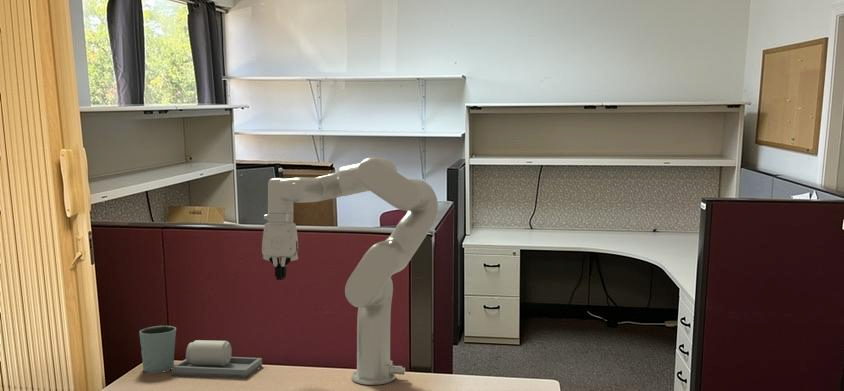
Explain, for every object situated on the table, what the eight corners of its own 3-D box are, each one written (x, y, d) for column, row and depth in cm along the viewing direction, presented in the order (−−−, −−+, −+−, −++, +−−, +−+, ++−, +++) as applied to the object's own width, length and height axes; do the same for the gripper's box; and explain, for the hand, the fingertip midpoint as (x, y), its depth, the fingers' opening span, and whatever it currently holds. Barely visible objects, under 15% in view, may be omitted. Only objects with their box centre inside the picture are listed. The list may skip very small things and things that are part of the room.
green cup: (182, 365, 191) (182, 326, 191) (165, 374, 181) (165, 333, 181) (150, 363, 192) (150, 325, 192) (132, 373, 182) (132, 332, 182)
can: (226, 338, 185) (187, 337, 186) (222, 363, 182) (182, 362, 182) (234, 343, 192) (196, 343, 192) (230, 368, 189) (191, 367, 189)
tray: (262, 366, 190) (262, 358, 190) (245, 378, 178) (245, 370, 178) (192, 363, 193) (192, 355, 193) (171, 375, 180) (171, 366, 180)
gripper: (252, 219, 185) (252, 280, 185) (300, 219, 183) (300, 281, 183) (261, 217, 192) (261, 277, 192) (308, 218, 190) (308, 278, 190)
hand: (280, 279), depth 188 cm, fingers closed
